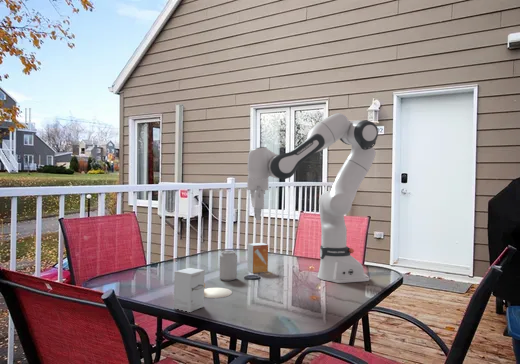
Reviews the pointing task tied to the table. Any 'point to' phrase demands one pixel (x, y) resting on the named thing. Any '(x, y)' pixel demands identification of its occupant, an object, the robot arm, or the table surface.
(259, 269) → the small box
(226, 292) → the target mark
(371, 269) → the table surface
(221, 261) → the can
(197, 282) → the supplement box
